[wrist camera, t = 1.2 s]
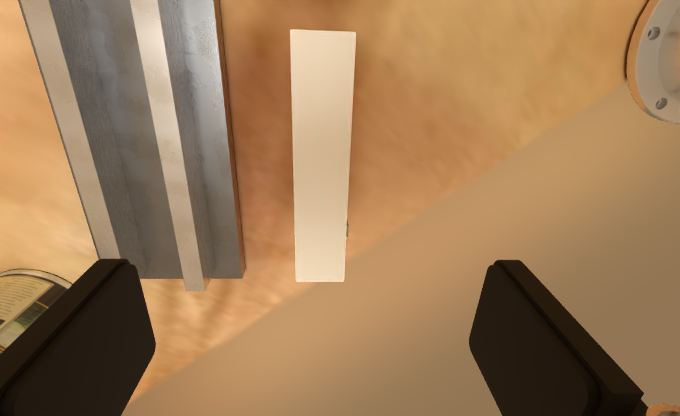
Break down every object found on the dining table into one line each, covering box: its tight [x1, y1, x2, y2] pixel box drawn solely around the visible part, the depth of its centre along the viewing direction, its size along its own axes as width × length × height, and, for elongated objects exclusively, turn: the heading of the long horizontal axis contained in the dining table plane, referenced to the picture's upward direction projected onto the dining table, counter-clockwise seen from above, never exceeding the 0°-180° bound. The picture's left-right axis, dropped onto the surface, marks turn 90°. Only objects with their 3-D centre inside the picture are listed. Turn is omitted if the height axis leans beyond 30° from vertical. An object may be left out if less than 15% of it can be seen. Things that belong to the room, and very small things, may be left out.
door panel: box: [290, 29, 356, 282], centre depth 23 cm, size 3×14×10 cm, turn 178°
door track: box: [18, 0, 246, 291], centre depth 25 cm, size 12×26×4 cm, turn 178°
